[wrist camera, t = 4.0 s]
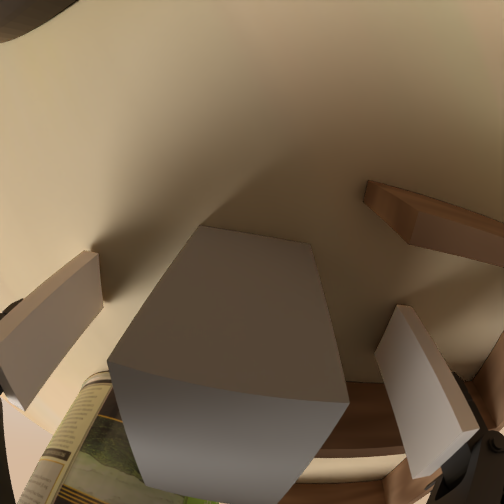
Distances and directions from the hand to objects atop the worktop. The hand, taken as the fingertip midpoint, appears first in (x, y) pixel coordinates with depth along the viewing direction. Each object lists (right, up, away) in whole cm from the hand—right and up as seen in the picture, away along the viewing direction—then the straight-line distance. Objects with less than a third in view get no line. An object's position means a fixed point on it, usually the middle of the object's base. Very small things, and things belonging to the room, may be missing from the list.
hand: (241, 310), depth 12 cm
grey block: (0, 0, 0) cm, 0 cm away
